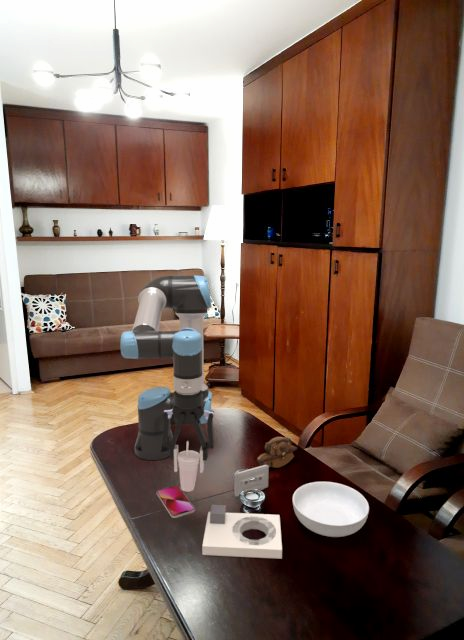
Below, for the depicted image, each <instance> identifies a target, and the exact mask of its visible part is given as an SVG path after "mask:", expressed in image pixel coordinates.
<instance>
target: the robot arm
mask: <svg viewBox="0 0 464 640" xmlns="http://www.w3.org/2000/svg"><path fill="white" fill-rule="evenodd" d="M137 301H138V302H137V303H138V308H137V311H136V316H135V319H134V323H133V326H132V330H128V331H123V332H122V334H121V336H120V346H119V347H120V354H121V356H122V357H123V358H124V359H135V360H139V359H140V360H141V359H143V360H144V359H172V361H173V362H172V363H173V365H172V366H173V390H174V391H173V392H172V391H171V390H170V388H169V387H166V386H165V387H164V386H158V387H157V386H155V387H152V388H149V389H145V390H144V391H142V392H141V393H140V394H139V395H138V398H137V407H136V408H137V416H138V417H137V418H138V434H137V437H136V440H135V444H134V454H135V456H136V457H137V458H139V459H143V460H147V461H158V460H164V459H168V457H169V458H170V460H173V465H174V466H173V470H174V471H173V473H177V472H178V471H179V462H178V460H177V456H178V454H179V444H177V441H178V437H179V435H180V433H181V429H182V426H185V425H191V426H193V428H194V430H195V432H196V435H197V438H198V440H199V443H200V449H199V454H200V462H199V473H200V474H203V473H204V469H205V461H207V460H208V458H209V455H208V454H209V449H210V450H211V449H214V446H215V433H214V422H213V421H214V420H213V419H214V415H215V411H214V410H212V397H213V396H212V395H213V393H212V391H210V390H209V386H208V385H207V384H205V383H204V382H205V381H204V379H205V378H204V377H205V376H204V374H205V371H204V369H205V368H204V364H205V363H204V359H205V358H204V354H205V352H204V351H205V349H204V318H205V316H207V314H208V309H211V308H212V300H211V292H210V285H209V279H208V278H207V276H203V275H162V276H158V277H156V278H153V279H152V280H150V281H148V282H147V283H146V284H145V285H144V286H143V287H142V288H141V289H140V292H139V294H138V297H137ZM164 309H174V313H175V315H176V316H177V317H178V319H179V321H178V322H179V330H160V323H161V319H162V313H163V310H164ZM203 424H206V426H207V437H208V439H207V437H206V435H205V432H204V429H203V426H202V425H203ZM173 425H174V426H175V425H176V427H175V430H174V433H173V432H172V428H171V427H172V426H173Z"/></svg>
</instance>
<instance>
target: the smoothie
mask: <svg viewBox="0 0 464 640" xmlns="http://www.w3.org/2000/svg"><path fill="white" fill-rule="evenodd" d="M189 445H190V443H189V440H186V450H183V451H180V452H178V456H177V460H178V462H179V467H178V471H179V483H180V489H181V491H182V492H193V491H194V489H195V485H196V480H197V475H198V469H199V466H200V452H198V451H196V450H191V449H190V450H189Z"/></svg>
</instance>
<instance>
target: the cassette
mask: <svg viewBox="0 0 464 640" xmlns="http://www.w3.org/2000/svg"><path fill="white" fill-rule="evenodd" d="M269 468H270V467H269V466H268V465H267V464H266V465H263V466H260V465H259V466H256V467H252V468H249V469H245V470H241V471H238V472H235V473H234V477H233V478H234V485H233V486H234V487H233V488H234V489H233V490H234V492H233V493H234V497H240V496H239V494H240V493H241V492H242V491H247V490H253V489H259V490H260V491H263V490H264V489H266V488H269V470H270V469H269Z"/></svg>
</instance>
